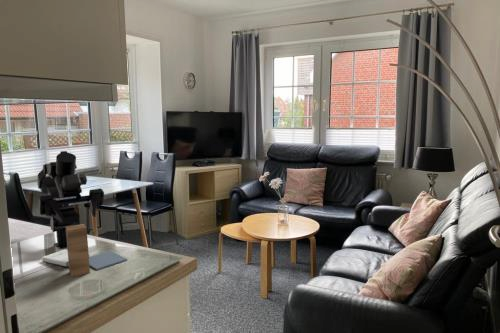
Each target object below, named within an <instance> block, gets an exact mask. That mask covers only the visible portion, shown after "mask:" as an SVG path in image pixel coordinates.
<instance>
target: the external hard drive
mask: <svg viewBox="0 0 500 333" xmlns="http://www.w3.org/2000/svg"><path fill="white" fill-rule="evenodd" d="M41 261H42V262H46V263H49V264H53V265H56V266H61V267H68V268H69V261H68V250H67V249H60V250H58V251H56V252H54V253H51V254H48V255H44V256H42V258H41Z"/></svg>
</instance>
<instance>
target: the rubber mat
mask: <svg viewBox="0 0 500 333" xmlns="http://www.w3.org/2000/svg"><path fill="white" fill-rule="evenodd" d="M126 261H127V262H128V258H126V257H124V256H122V255H120V254H118V253H115V252H114V251H112V250H108V251H106V252H102V253H98V254H95V255H92V256H91V255H90V256H89V266H90V268H92V269H94V270H95V271H99V270H102V269H105V268H108V267H112V266H114V265H117V264H121V263H124V262H126Z"/></svg>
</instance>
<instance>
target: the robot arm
mask: <svg viewBox="0 0 500 333" xmlns="http://www.w3.org/2000/svg"><path fill="white" fill-rule="evenodd" d="M55 156H56V157H55V160H56V161H51V162H49V163H45V164H43V165H42V169H41V170H40V171H39V173H38V174H37V179H36V180H37V181H36V182H37V188H38V189H39V190H40V192H41V193H42V194H44V195H41V196H39V197H38V212H39V214H40V215H41V216H43V215H45V216H46V217H48V216H49V217H50V221H49V224H50V230H51V231H52V232H53V233H55V232H56V233H55V234H56V242H55V243H53V246H55V247H57V248H58V249H59V250H64V249H65V248H67V238H66V227H68V226H74V225H80V224H81V223H80V220H81V214H80V213H79V211H78V210H76V207H75V206H77V205H81V204H87V203H88V205H89V209H90V212H91V214H92V216H93V218H95V217H96V215H97V208H98V209H99V208H100V206H103V205H104V198H105V192H104V189H102V188H95V189H89V191H88V192H89V194H88V195H81V194H82V193H83V189H82V186H84V185H86V186H87V182H88V179H87V176H86V174H85V173H80V174H78V173H77V174H76V170H77V168H78V167H77V163H76V162H77V156H76V155H75V154H73V153H71V152H68V150H62V151H60V153H58V154H57V155H55Z"/></svg>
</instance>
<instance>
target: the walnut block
mask: <svg viewBox="0 0 500 333" xmlns="http://www.w3.org/2000/svg"><path fill="white" fill-rule="evenodd" d="M87 230H88V228H87V226H86V225H85V223H80V225H74V226H68V227H66V238H67V247H66V248H67V249H66V250H68V261H69V266H68V270H69V271H68V272H69V275H70V276H71V278H73V277H78V276H81V275H86V274H90V273H91V270H90V269H91V267H90V266H89V257H90V254H89V253H90V252H89V243H88V241H89V240H88V231H87Z"/></svg>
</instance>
